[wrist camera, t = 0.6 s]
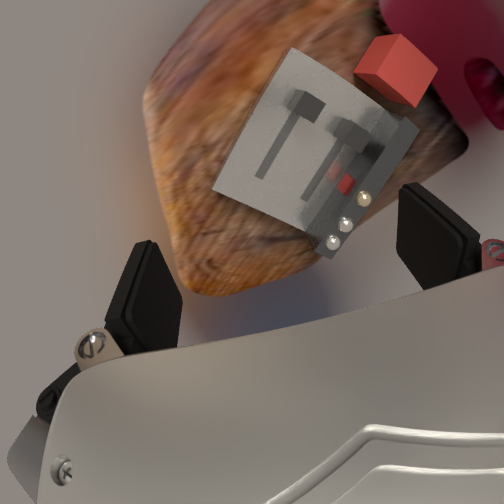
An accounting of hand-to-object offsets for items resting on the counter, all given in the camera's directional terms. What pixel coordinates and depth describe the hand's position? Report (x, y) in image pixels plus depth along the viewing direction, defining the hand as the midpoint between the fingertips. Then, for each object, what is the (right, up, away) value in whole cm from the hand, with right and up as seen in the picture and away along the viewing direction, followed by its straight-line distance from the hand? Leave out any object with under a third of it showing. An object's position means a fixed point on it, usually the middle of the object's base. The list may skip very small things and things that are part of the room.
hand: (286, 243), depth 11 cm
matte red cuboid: (+15, +22, +17) cm, 31 cm away
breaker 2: (+9, +13, +19) cm, 25 cm away
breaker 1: (+4, +15, +17) cm, 23 cm away
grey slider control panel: (+5, +12, +23) cm, 26 cm away
